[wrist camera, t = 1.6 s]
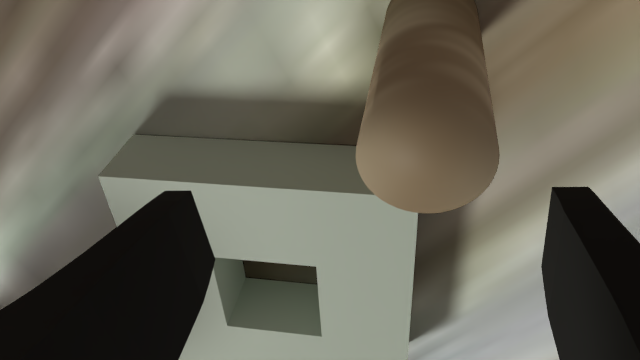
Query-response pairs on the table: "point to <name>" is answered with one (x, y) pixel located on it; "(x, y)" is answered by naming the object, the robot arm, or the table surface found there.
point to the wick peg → (429, 109)
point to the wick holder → (282, 246)
